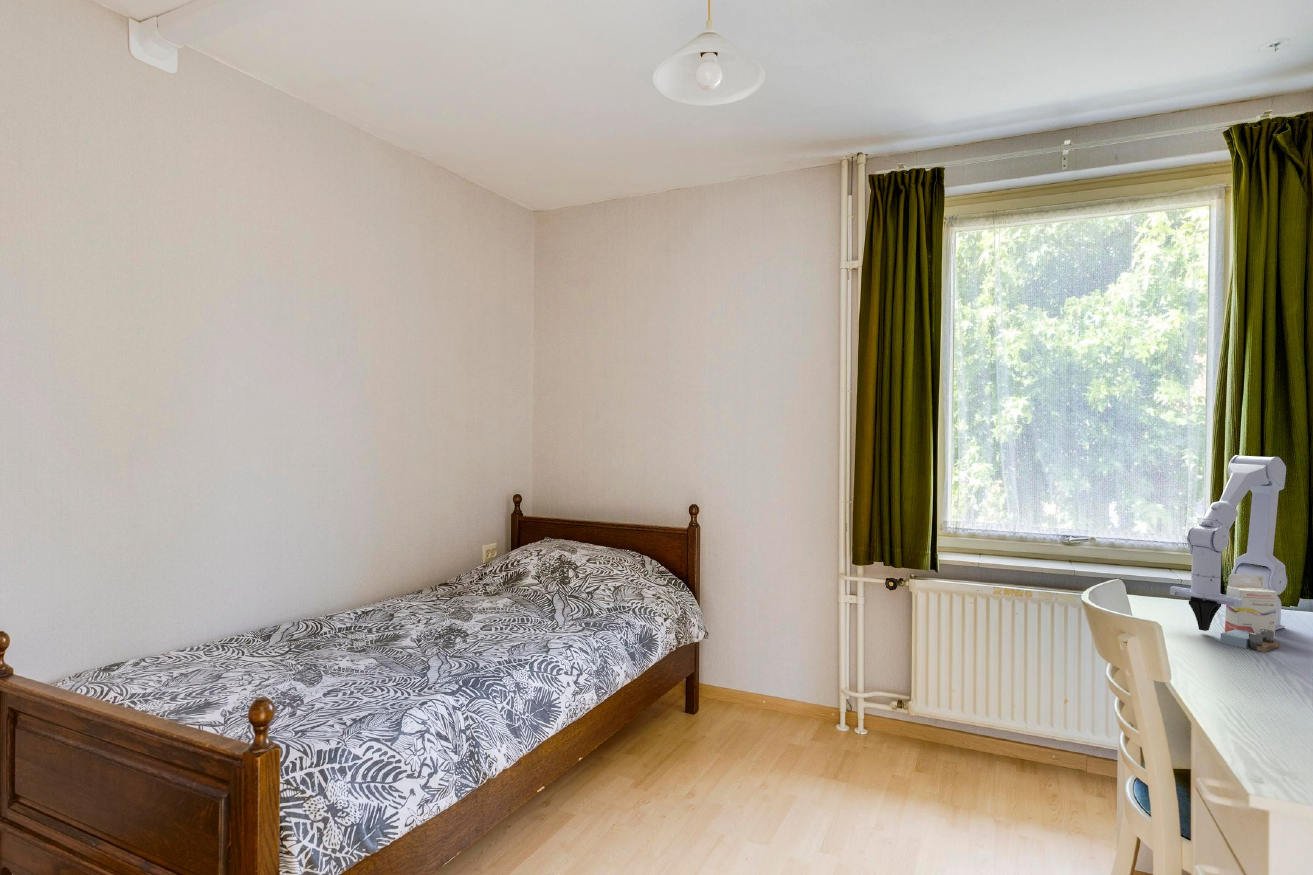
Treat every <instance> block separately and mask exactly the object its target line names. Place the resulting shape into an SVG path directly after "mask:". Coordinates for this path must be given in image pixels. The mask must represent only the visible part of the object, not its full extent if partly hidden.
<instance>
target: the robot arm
mask: <svg viewBox="0 0 1313 875" xmlns="http://www.w3.org/2000/svg"><path fill="white" fill-rule="evenodd" d="M1227 471H1228V476H1229V479H1228V481H1227V483H1226V486H1225V487H1224V489H1223V492H1222V494H1221V496H1220V498H1219V501H1214V502H1212V503H1211V504H1210V505H1209V506H1208V509H1207V511H1206V512H1205V514H1204V515H1203V516H1202V519H1201V520H1200V522H1199V524H1198V525H1195V526H1193V527H1191V528H1190V529H1189V530H1188V532H1187V536H1186V542H1187V545H1188V546H1189V547H1188V548H1189V552H1188V553H1189V554H1190V555H1191V577H1190V588H1189V587H1188V588H1187V587H1180V586H1173V585H1172V586H1170V588H1169V595H1172V596H1178V597H1184V598H1190V600H1188V605H1189V606H1190V608H1191V610H1192V612H1193V614H1194V616H1195V619H1196V622H1197V627H1198V630H1199V631H1203V632H1207V631H1209V630H1210V627H1211V624H1212V621H1213V619H1214V617H1215V615H1216V614H1217V612H1218V611H1219V610H1220V608H1221V607H1222V605H1223V606H1224V605H1225V606H1226V605H1230V606H1234V607H1237V608H1240V607H1242V605H1243V599H1240V598H1235V597H1231V596H1227V594H1222V593H1221V583H1222V582H1221V581H1222V580H1221V578H1222V577H1221V576H1222V555H1223V554H1222V552H1224V551H1225V549H1226V548H1227V547H1228V545H1229V537H1230V534H1231V532H1230V529H1231V527H1232V526H1233V524H1234V522H1235V520H1237V517H1238V515H1239V511H1238V510H1237V507H1238V505H1239V503H1241V502H1242V500H1243V499H1244V497H1245V496H1246V495H1247V493H1248V492H1249V491H1250V492H1251V493H1252V496H1251V507H1250V517H1249V526H1248V528H1249V529H1248V538H1247V546H1246V547H1247V548H1246V553H1243V554H1242V555H1240V556H1238V557H1236V558H1235V562H1234V566H1233V568H1232V570H1231V573H1230V574H1241V575H1260V576H1264V581H1263V588H1265V589H1269V590H1272V591H1276V592H1277V606H1276V623H1275V631H1276V630H1280V629H1284V628H1286V625H1285V624H1282V623H1281V621H1282V618H1281V617H1282V601H1281V599H1280V597H1279V595H1281V594H1282V593H1283V592H1284V591H1285V590H1286V588H1287V584H1288V577H1287V574H1286V573H1287V572H1286V565H1285V564H1284V563H1283V562H1282V561H1281V560H1279V559H1278V558H1277V557H1276V556H1274V545H1275V535H1276V525H1277V514H1278V513H1277V512H1278V503H1279V492H1280V491H1282V490H1284V489H1285V483H1286V475H1287V466H1286V464H1285V463H1284V461H1283V460H1282V459H1281V458H1280V457H1279V456H1254V455H1253V456H1252V455H1251V456H1249V455H1240V454H1235V455H1234V456H1233V457H1231V459H1230V461H1229V463H1228V466H1227ZM1263 566H1264V567H1263ZM1240 581H1242V582H1252V580H1251V579H1247V578H1245V579H1241V580H1240Z"/></svg>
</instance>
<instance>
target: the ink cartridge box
mask: <svg viewBox="0 0 1313 875" xmlns="http://www.w3.org/2000/svg"><path fill="white" fill-rule="evenodd" d="M1245 578H1247V579H1251V580H1252V582H1242V581H1240V580H1241V579H1245ZM1263 581H1264V576H1260V575H1241V574H1231V573H1230V574H1229V575H1228V582H1227V586H1226V595H1227V596H1231V597H1235V598H1240V599H1243V605H1242V607H1240V608H1237V607H1234V606H1230V605H1225V620H1224V621H1225V622H1224V632H1228V631H1232V630H1235V629H1238V630H1242V631H1247V632H1253V633H1259V634H1260V633H1261V629H1267V630H1272V631H1274V640H1275V638H1276V630H1275V623H1276V606H1277V596H1278V595H1277V592H1276V591H1272V590H1269V589H1265V588H1263Z"/></svg>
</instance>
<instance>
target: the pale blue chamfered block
mask: <svg viewBox="0 0 1313 875" xmlns="http://www.w3.org/2000/svg"><path fill="white" fill-rule="evenodd" d="M1249 633H1250V632H1247V631H1242V630H1238V629H1235V630H1232V631H1228V632H1225V631H1224V632H1222V633H1220V643H1221V642H1223V643H1222V644H1225V643H1226V645H1229V644H1231V645H1230V646H1233V645H1236V646H1235V647H1238V646H1239V648H1242V647H1244V648H1243V649H1249V648H1248V645H1249Z"/></svg>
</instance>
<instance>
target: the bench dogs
mask: <svg viewBox="0 0 1313 875" xmlns="http://www.w3.org/2000/svg"><path fill="white" fill-rule="evenodd" d="M1249 648H1250V649H1249ZM1277 648H1280V642H1278V641H1277V642H1276V641H1275V639H1274V631H1272V630H1267V629H1261V633H1260V634H1259V633H1253V632H1250V633H1249V645H1248V648H1247V649H1249V650H1253V651H1258V652H1262V653H1266V652H1269V651H1272V650H1276V649H1277Z"/></svg>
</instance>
